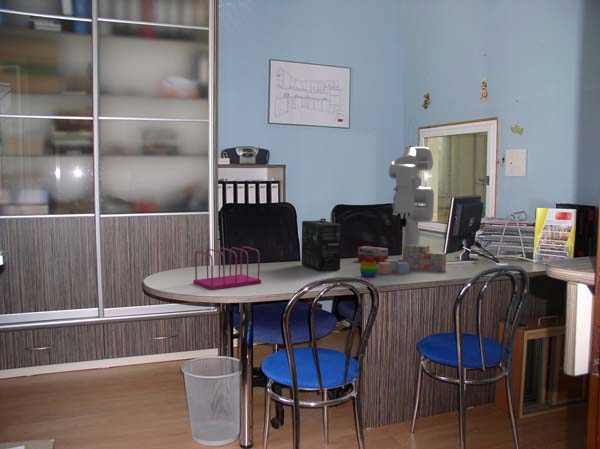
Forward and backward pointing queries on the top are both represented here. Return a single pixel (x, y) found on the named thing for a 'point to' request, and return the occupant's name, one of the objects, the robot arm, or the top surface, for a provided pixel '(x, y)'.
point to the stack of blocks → (424, 258)
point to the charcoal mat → (389, 274)
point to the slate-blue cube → (402, 267)
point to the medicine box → (373, 253)
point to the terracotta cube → (384, 268)
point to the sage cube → (392, 263)
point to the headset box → (321, 245)
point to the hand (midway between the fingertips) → (402, 226)
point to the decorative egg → (368, 268)
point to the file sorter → (225, 280)
